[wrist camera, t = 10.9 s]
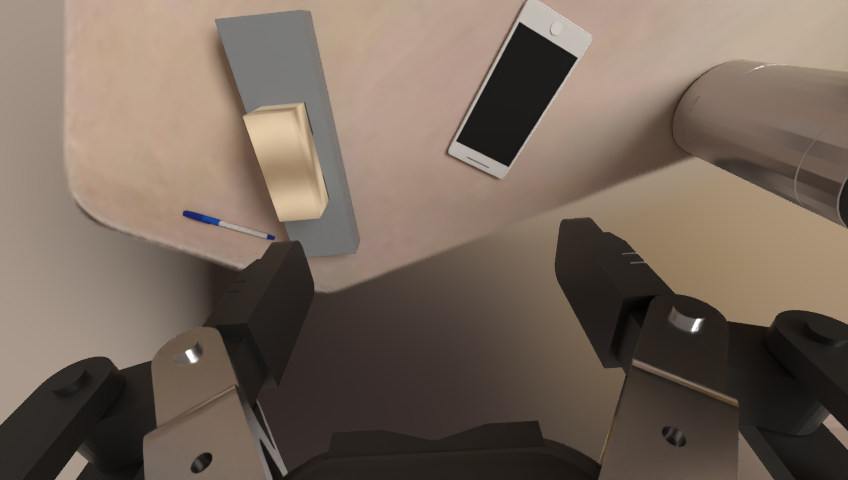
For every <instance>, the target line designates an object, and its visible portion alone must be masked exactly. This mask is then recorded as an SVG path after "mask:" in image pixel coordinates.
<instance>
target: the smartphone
mask: <svg viewBox="0 0 848 480" xmlns="http://www.w3.org/2000/svg"><path fill="white" fill-rule="evenodd" d="M591 40H592V35H591V34H589V33H588V32H586V31H585V30H583V29H581V28H580V27H578V26H577V25H575V24H574V23H572V22H571V21H569V20H567V19H566V18H564V17H563V16H561V15H560V14H558V13H557V12H555V11H554V10H552V9H550V8H549V7H547V6H546V5H544V4H543V3H541V2H540V1H538V0H527V1H526V2H525V4H524V6H523V7H522V9H521V11H520V13H519V15H518V17H517V19H516V21H515V23H514V25H513V26H512V28H511V30H510V32H509V34H508V36H507V38H506V40H505V42H504V44H503V45H502V47H501V49H500V51H499V53H498V55H497V57H496V59H495V61H494V63H493V64H492V66H491V68H490V70H489V72H488V74H487V76H486V78H485V80H484V81H483V83H482V85H481V87H480V89H479V91H478V93H477V95H476V97H475V99H474V100H473V102H472V104H471V106H470V108H469V110H468V112H467V114H466V116H465V118H464V119H463V121H462V123H461V125H460V127H459V129H458V131H457V133H456V135H455V137H454V138H453V140H452V142H451V144H450V146H449V149H448V153H449V154H450V155H452V156H454V157H456V158H458V159H460V160H462V161H464V162H466V163H469V164H471V165H473V166H475V167H477V168H479V169H481V170H483V171H485V172H487V173H489V174H491V175H493V176H496V177H498V178H500V179H503V178H504V177H505V176H506V175H507V173H508V171H509V170H510V168H511V167H512V165H513V164H514V162H515V160H516V159H517V157H518V156H519V154H520V153H521V151H522V150H523V148H524V146H525V145H526V143H527V142H528V140H529V139H530V137H531V135H532V134H533V132H534V131H535V129H536V128H537V126H538V124H539V123H540V121H541V120H542V118H543V117H544V115H545V113H546V112H547V110H548V109H549V107H550V106H551V104H552V102H553V101H554V99H555V98H556V96H557V95H558V93H559V92H560V90H561V88H562V87H563V85H564V84H565V82H566V81H567V79H568V77H569V76H570V74H571V73H572V71H573V70H574V68H575V66H576V65H577V63H578V62H579V60H580V59H581V57H582V55H583V54H584V52H585V51H586V49H587V48H588V46H589V44H590V43H591Z"/></svg>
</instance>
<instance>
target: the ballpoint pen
mask: <svg viewBox="0 0 848 480" xmlns="http://www.w3.org/2000/svg"><path fill="white" fill-rule="evenodd" d="M183 216H186V217H188V218H191V219H194V220H198V221H201V222H205V223H208V224H214V225H217V226H218V225H219V226H223V227H226V228H230V229H233V230H237V231H240V232H244V233H247V234H251V235H254V236H258V237H261V238H265V239H271V240H274V239H275V237H273V236H271V235H269V234H266V233H262V232H259V231H255V230H252V229H248V228H245V227H241V226H238V225H234V224H231V223H227V222H224V221H221V220H218V219H214V218H211V217H208V216H204V215H201V214H198V213H194V212H190V211H184V212H183Z"/></svg>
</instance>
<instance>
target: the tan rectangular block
mask: <svg viewBox="0 0 848 480" xmlns="http://www.w3.org/2000/svg"><path fill="white" fill-rule="evenodd" d="M243 119H244V122H245V124H246V127H247V130H248V133H249V136H250V139H251V142H252V144H253V147H254V150H255V153H256V156H257V159H258V162H259V164H260V167H261V170H262V173H263V176H264V179H265V182H266V184H267V187H268V190H269V193H270V196H271V199H272V202H273V204H274V207H275V210H276V213H277V216H278V219H279V221H280V222H282V221H294V220H306V219H317V218H320V217H321V215H322V213H323V211H324V209H325V207H326V205H327V203H328V202H329V199H328V195H327V191H326V183H325V179H324V175H323V174H322V171H321V168H320V164H319V160H318V156H317V152H316V148H315V144H314V140H313V136H312V132H311V129H310V125H309V122H310V120H309V116H308V112H307V108H306V106H305V105H304V102H302V103H292V104H282V105H272V106H261V107H259V108H258V109H256V110H254V111H252V112H250V113H248V114H246V115H244V116H243Z"/></svg>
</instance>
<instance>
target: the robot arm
mask: <svg viewBox="0 0 848 480" xmlns="http://www.w3.org/2000/svg"><path fill="white" fill-rule="evenodd" d="M672 126H673V135H674V138H675V141H676V142H677V144H678V145H679V147H681V148H682V149H683V150H685V151H686V152H688V153H690V154H692V155H694V156H696V157H699V158H701V159H703V160H705V161H707V162H709V163H711V164H713V165H715V166H717V167H719V168H721V169H723V170H726V171H727V172H729V173H732V174H734V175H736V176H738V177H740V178H742V179H744V180H746V181H749V182H750V183H752V184H755V185H757V186H759V187H761V188H763V189H765V190H767V191H769V192H771V193H773V194H776V195H777V196H780V197H782V198H784V199H786V200H788V201H790V202H792V203H794V204H796V205H798V206H800V207H803V208H805V209H807V210H809V211H811V212H814V213H816V214H818V215H820V216H822V217H824V218H826V219H828V220H830V221H832V222H834V223H836V224H839V225H841V226H843V227H845V228H847V229H848V72H843V71H834V70H825V69H816V68H807V67H799V66H790V65H782V64H773V63H764V62H755V61H746V60H740V61H731V62H728V63H725V64H721V65H719V66H717V67H715V68H713V69H711V70H710V71H708V72H707V73H705V74H704V75H702V76H701V77H700V78H699V79H698V80H697V81H696V82H694V83H693V84H692V85H691V86H690V88H689V89H688V90H687V91H686V93H685V94H684V95H683V97H682V99H681V100H680V102H679V104H678V106H677V109H676V111H675V114H674V118H673V124H672ZM555 272H556V277H557V280H558V283H559V284H560V286H561V288H562V290H563V292H564V294H565V296H566V298H567V299H568V301H569V303H570V305H571V307H572V309H573V311H574V313H575V314H576V316H577V318H578V320H579V322H580V324H581V326H582V328H583V329H584V331H585V333H586V335H587V337H588V339H589V341H590V343H591V344H592V346H593V348H594V350H595V352H596V354H597V356H598V358H599V359H600V361H601V363H602V365H603V367H604V368H617V367H622V368H623V370H624V372H625V374H626V377H625V380H624V383H623V386H622V389H621V392H620V396H619V399H618V402H617V406H616V409H615V413H614V416H613V419H612V422H611V425H610V429H609V432H608V435H607V438H606V442H605V445H604V448H603V451H602V454H601V458H600V460H599V463H597V462H596V461H595V460H593V459H592V458H590V457H589V456H587V455H585V454H583V453H582V452H580V451H578V450H576V449H574V448H572V447H569V446H567V445H565V444H562V443H559V442H556V441H553V440H550V439H546V438H543V436H542V433H541V430H540V426H539V423H538V421H525V422H508V423H490V424H484V425H481V426H478V427H475V428H472V429H469V430H466V431H463V432H460V433H457V434H454V435H451V436H448V437H445V438H442V439H438V440H427V439H423V438H418V437H413V436H409V435H404V434H399V433H395V432H390V431H385V430H370V431H353V432H336V433H332V437H331V441H330V446H329V450H328V451H325V452H322V453H320V454H318V455H316V456H314V457H312V458H310V459H308V460H306V461H305V462H303V463H301V464H300V465H298V466H297V467H295V468H294V469H293V470H291V471H290V472H289V473H288V472H287V470H286V468H285V466H284V464H283V462H282V459H281V457H280V454H279V452H278V449H277V447H276V445H275V442H274V440H273V437H272V434H271V432H270V430H269V427H268V425H267V422H266V420H265V417H264V414H263V413H262V409H261V407H260V405H259V403H258V401H257V397H258V394H259V392H260V390H261V389H268V388H278V387H279V385H280V382H281V380H282V377H283V375H284V372H285V370H286V367H287V364H288V362H289V359H290V357H291V354H292V352H293V349H294V347H295V344H296V342H297V339H298V336H299V334H300V331H301V329H302V326H303V324H304V321H305V318H306V316H307V313H308V311H309V308H310V306H311V303H312V301H313V297H314V281H313V278H312V275H311V271H310V268H309V265H308V262H307V259H306V256H305V253H304V250H303V247H302V244H301V243H300V242H299V241H298V240H294V241H281V242H273V243H271V245H270V246H269V248H268V249H267V250H266V252H265V253H264V255H263V256H262V258H261V259H257V260H255V261H254V262H253V263H251V264H250V265H249V266H247V267H246V268H245V269H243V271H242V272H241V273H240V275H239V276H238V277H237V279H236V280H235V284H232V286H231V287H230V288H229V290H228V294H225V296H224V297H223V298H222V300H221V301H220V302H219V304H218V305H217V307H216V308H215V309H214V311H213V312H212V314H211V315H210V316H209V317H208V319H207V320H206V322H205V323H204V324H203V326H202V327H199V328H195V329H191V330H188V331H186V332H184V333H181V334H179V335H177V336H176V337H174V338H172V339H171V340H170V341H168V342H167V343H166V344H165V345H163V346H162V347H161V348H160V349H159V350H158V352H157V353H156V354H155V356H154V358H153V360H152V361H148V362H145V363H142V364H138V365H135V366H132V367H129V368H125V369H122V370H118V368H117V367H116V366H115V365H114V364H113V363H112V361H111V360H110V359H109V358H106V357H92V358H88V359H84V360H81V361H79V362H76V363H74V364H71V365H69V366H67V367H66V368H64V369H62V370H60V371H59V372H57V373H55V374H54V375H53V376H51V377H50V378H48V379H47V380H46V381H45V382H43V383H42V384H41V385H40V386H39V387H38V388H37V389H36V390H35V391H34V392H33V393H32V394H31V395H30V396H29V397H28V398H27V399H26V400H25V401H24V402H23V403H22V404H21V405H20V406H19V407H18V408H17V409H16V410H15V411H14V412H13V413H12V414H11V415H10V416H9V417H8V418H7V419H6V420H5V421H4V422H3V423H2V424H1V425H0V480H55V479H56V477H57V476H58V474H59V473H60V472H61V471H62V469H63V467H65V465H66V464H67V463H68V461H69V460H70V459H71V457H72V456H73V455H74V453H75V452H76V451H77V452H79V453H80V454H81V455H82V456H83V457H84V458H86V459H87V460H88V461H89V462H88V463H87V465H86V466H85V468H84V469H83V470H82V472H81V473H80V475H79V476H78V477H77V479H76V480H738V471H739V470H738V468H739V464H738V463H739V431H740V433H741V434H742V435H743V437H744V438H745V440H746V441H747V442H748V444H749V445H750V447H751V448H752V449H753V451H754V452H755V453H756V455H757V456H758V458H759V459H760V461H761V462H762V463H763V465H764V466H765V467H766V469H767V470H768V471H769V473H770V474H771V476H772V477H773V479H774V480H848V450H847V449H846V448H845V446H844V445H843V444H842V443H841V442H840V441H839V440H838V439H837V438H836V437H835V436H834V435H833V434H832V433H831V432H830V431H829V429H828V428H827V427H826V426H825V425H824V424H823V423H822V422H823V421H824V420H825V419H826V418H827V417H828V416H829V414H830V413H831V414H832V415H833V416H834V417H835V418H836V419H837V420H838V421H839V422H840V423H841V424H842V425H843V427H844V428H845V429H846V430H847V431H848V325H847V324H845V323H843V322H841V321H839V320H836V319H833V318H831V317H828V316H825V315H822V314H818V313H814V312H809V311H801V310H789V311H784V312H781V313H779V314H778V315H777V316H776V317H775V319H774V321H773V323H772V324H771V326H770V327H764V326H757V325H750V324H743V323H737V322H730V321H727V320H726V318H725V317H724V316H723V315H722V314H721V312H719V311H718V310H717V309H716V308H714V307H713V306H711V305H709V304H708V303H706V302H704V301H701V300H699V299H696V298H694V297H690V296H686V295H681V294H675V293H674V292H673V291H672V290H671V289H670V288H669V287H668V286H667V285H666V283H665V282H663V280H662V279H661V278H660V277H659V276H658V275H657V274H656V273H655V272H654V271H653V270H652V269H651V268H650V267H649V266H648V264H646V263H644V260H643V259H642V258H641V257H640V256H639V255H638V254H636V253H635V251H634V250H633V249H632V248H631V246H630V245H629V244H628V243H627V242H626V241H624V240H622V239H621V238H619V237H617V236H615V235H614V234H612V233H610V232H605V233H604V232H602V230H601V229H600V228H599V227H598V226H597V224H596V223H595V222H594V221H593V220H592V219H591V218H589V217H587V218H575V219H564V220H562V221H561V224H560V228H559V235H558V243H557V251H556V258H555Z"/></svg>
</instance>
